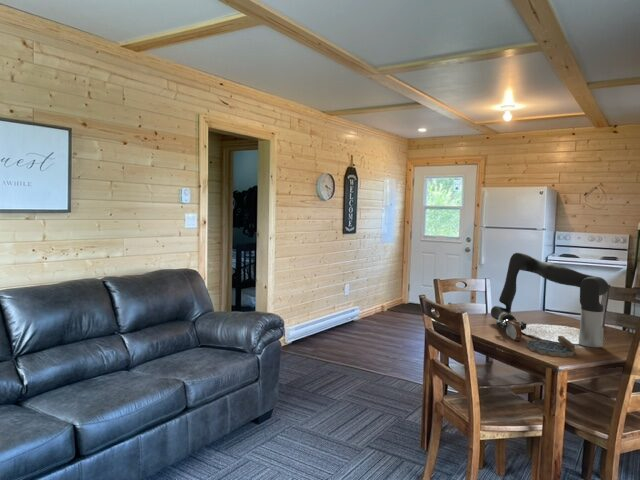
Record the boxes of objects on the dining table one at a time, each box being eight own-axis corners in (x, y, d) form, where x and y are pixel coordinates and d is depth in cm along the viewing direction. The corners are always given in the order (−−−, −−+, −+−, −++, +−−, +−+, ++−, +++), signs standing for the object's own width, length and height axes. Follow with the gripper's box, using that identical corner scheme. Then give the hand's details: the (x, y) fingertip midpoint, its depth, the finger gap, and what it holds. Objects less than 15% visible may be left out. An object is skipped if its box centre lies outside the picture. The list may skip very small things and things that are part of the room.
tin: (521, 342, 227) (522, 325, 226) (515, 342, 227) (516, 325, 227) (510, 334, 242) (510, 318, 242) (503, 334, 242) (504, 318, 242)
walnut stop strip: (562, 341, 224) (562, 336, 224) (574, 350, 208) (574, 345, 208) (557, 340, 224) (558, 335, 224) (569, 350, 209) (570, 345, 208)
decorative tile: (517, 346, 221) (517, 341, 221) (547, 343, 229) (547, 338, 229) (553, 359, 203) (553, 354, 203) (584, 355, 211) (585, 350, 211)
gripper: (493, 312, 249) (499, 319, 233) (521, 314, 247) (529, 321, 231) (492, 326, 250) (498, 333, 234) (520, 328, 247) (529, 336, 231)
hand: (514, 327), depth 232 cm, fingers open, 7 cm apart
